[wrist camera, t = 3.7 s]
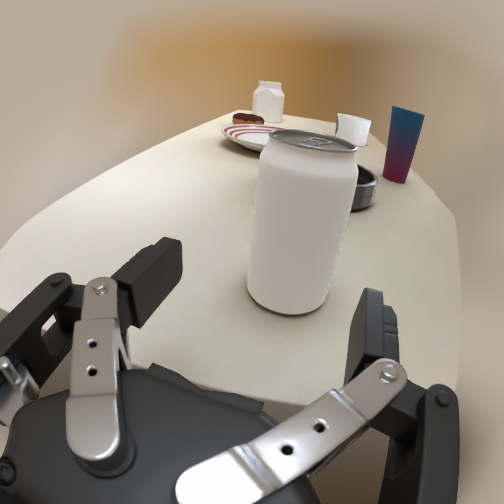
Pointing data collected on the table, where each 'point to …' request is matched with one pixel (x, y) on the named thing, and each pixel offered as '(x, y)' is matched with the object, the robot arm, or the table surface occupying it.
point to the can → (299, 218)
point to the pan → (364, 188)
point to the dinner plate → (250, 135)
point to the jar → (268, 101)
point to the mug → (352, 129)
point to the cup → (401, 143)
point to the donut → (247, 119)
